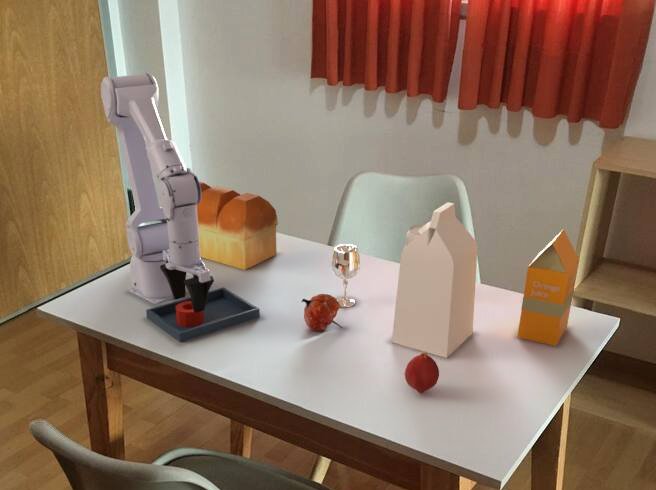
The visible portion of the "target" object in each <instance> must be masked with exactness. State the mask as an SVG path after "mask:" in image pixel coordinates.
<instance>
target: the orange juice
mask: <svg viewBox="0 0 656 490" xmlns="http://www.w3.org/2000/svg"><path fill="white" fill-rule="evenodd" d="M579 263H580V259H579V257H578V255H577V252H576V251H575V249H574V247H573V245H572V243H571V240H570V238H569V236H568V234H567V233H566V231H565V228H563V229H562V230H561V231H560V232H559V233H558V234H557V235H556V236H555V237H554V238H553V239H552V240H551V241H550V242H548V244H547V245H546V246H545V247H544V248H543V249H542V250H541V251H540V252H539V253H537V255H536V256H535V257H534V258H533V260H532V261H531V263H530V264H529V265H528V266H527V271H526V278H525V284H524V290H523V297H522V303H521V311H520V318H519V324H518V330H517V338H519V339H522V340H523V339H524V340H528V341H532V342H537V343H541V344H546V345H550V346H553V347H554V346H555V347H557V344H558V343H559V341H560V340H561V338H562V336H563V335H564V333H565V332H566V330H567V328H568V323H569V318H570V312H571V306H572V301H573V297H574V292H575V285H576V279H577V274H578V268H579Z"/></svg>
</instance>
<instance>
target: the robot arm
mask: <svg viewBox="0 0 656 490" xmlns="http://www.w3.org/2000/svg"><path fill="white" fill-rule="evenodd" d="M159 93H160V92H159V86H158V83H157V80H156V78H155V77H154V76H153V74H152V73H151V72H145V73H140V74H131V75H120V76H111V77H110V76H104V77H103V80H101V84H100V96H101V97H100V98H101V101H102V105H103V110H104V115H105V117H106V119H107V123H108V124H109V125H112V126H114V127H116V131H117V133H118V137H119V141H120V145H121V146H120V147H121V150H122V155H123V158H124V163H125V167H126V172H127V176H128V180H129V184H130V189H131V194H132V198H133V202H134V206H135V210H134V211H133V213H132V214H131V215H130V216H129V217H128V219H127V220H126V222H125V229H126V241H127V246H128V248H129V251H130V253H131V258H130V262H129V267H130V276H131V283H132V288H131V289H129V293H132V294H133V295H136V296H138V297H140V298H142V299H144V300H146V301H148V302H150V303H152V304H155V305H158V304H160V303H162V302H165V301H168V300H172V299H174V301H178V300H181V299H185V298H186V289H187V291H188V294H189V297H190V298H191V303H192V308H193V311H194V312H195V313H197V312H201V311H204V310H205V305H206V300H207V296H208V292H209V291H211V290H210V289H211V288H212V285H213V283H214V282H215V277H214V276H212V275H211V271H210V270H209V269H208V268H207V267H206V265H205V263H204V261H203V260H202V257H200V246H199V231H198V218H197V206H196V205H195V204H199V203H200V201H201V187H200V183H199V182H200V180H199V178H198V175H197V174H196V173H195V172H193V171H192V170H191V168H190V167H187V166H186V164H185V162H184V160H183V158H182V155H181V153H180V151H179V149H178V147H177V145H176V143H175V142H174V141H172V140H170V139H168V138H167V136H166V133H165V130H164V127H163V124H162V121H161V118H160V116H159V112H158V107H159V98H160V94H159ZM147 145H148V147H147ZM153 172H154V174H155V177H156V179H157V181H158V183H159V184H158V193H157V188H156V183H155V179H154V174H153ZM158 195H159V196H158ZM159 199H160V201H159ZM160 202H161V205H162V206H160ZM157 221H158V222H157ZM152 222H154V223H152ZM155 222H156V223H155ZM146 223H150V224H146ZM141 224H144V225H141ZM187 274H190V275H192V277H190V278H187Z"/></svg>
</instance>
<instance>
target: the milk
mask: <svg viewBox="0 0 656 490" xmlns="http://www.w3.org/2000/svg"><path fill="white" fill-rule="evenodd" d="M455 207H456V205H455V203H454V202H448V201H447V202H445V203H444V204H442V205H441V206H439V207H438V208H436V209H435V210H433V212H432V215H431V219H430V221H428V222H427V223H425V224H423V225H424V226H423V227H422V228H420V229H419V230H418V231H419V233H420V234H421V235H419V236H418V237H417V238H415V239H414V240H413V241H412V242H410V243H409V244H408V245H407V246H406V245H405V246H404V248H403V249H402V251H401V255H400V261H399V272H398V279H397V280H398V281H397V290H396V299H395V309H394V317H393V326H392V335H391V343H393V344H397V345H400V346H403V347H407V348H410V349H414V350H418V351H421V352H426V353H427V354H432V355H435V356H438V357H441V358H446V359H447V358H448V357H449V356H450V355H451V354H452V353H453V352H455V351H456V350H457V348H459V347H460V346H461V345H462V344H463V343H464V342H466V340H467V339H468V338H469V337H470V336H472V335H473V331H474V317H475V316H474V315H475V314H474V313H475V297H476V282H477V280H476V279H477V265H478V264H477V262H478V244H477V242H476V239H475V238H474V236H473V235H471V233H470V232H469V231H468V230H467V228H466V227H465V226H464V225H463V223H461V221H460V220H459V219H458V218H457V217H456V208H455Z"/></svg>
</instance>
